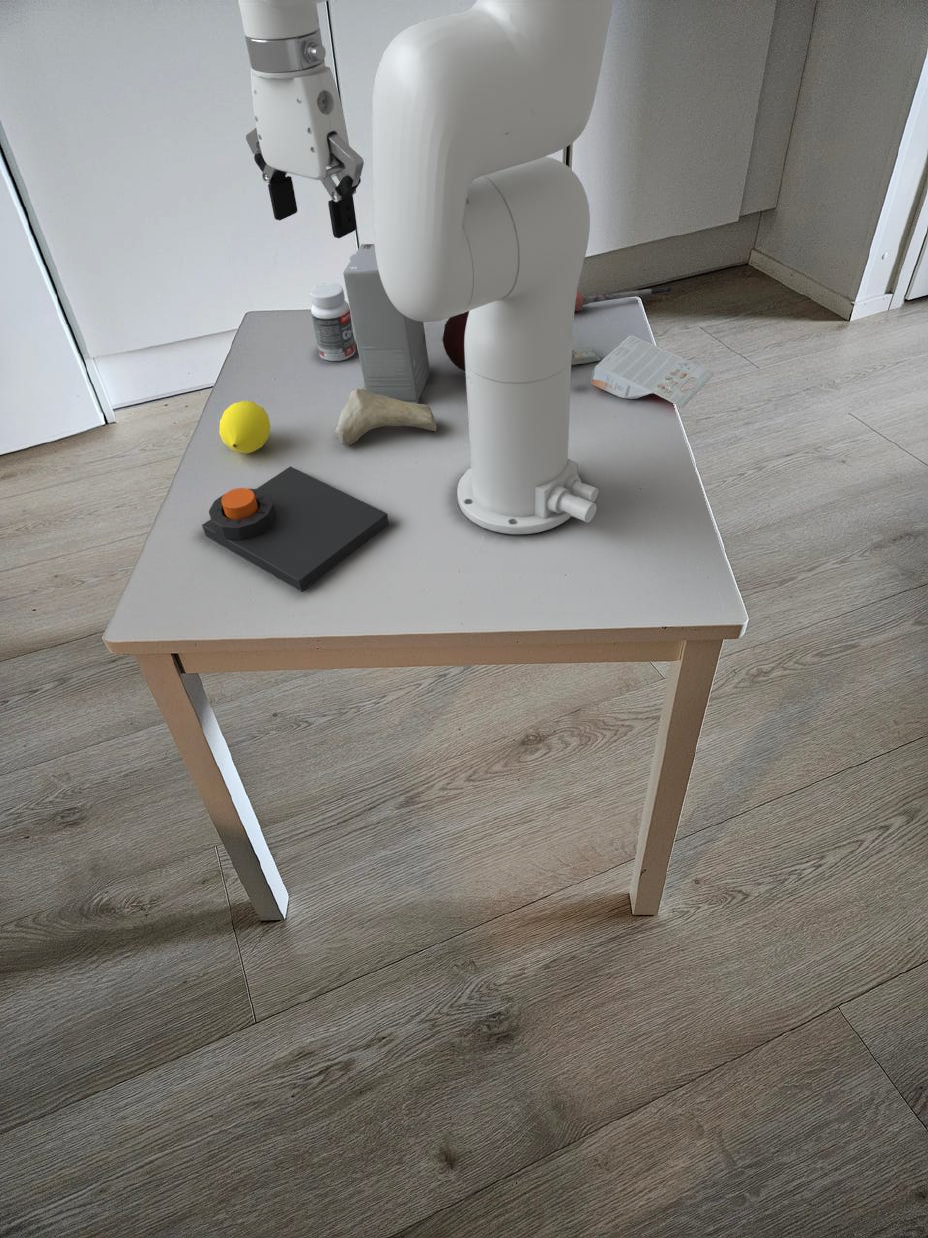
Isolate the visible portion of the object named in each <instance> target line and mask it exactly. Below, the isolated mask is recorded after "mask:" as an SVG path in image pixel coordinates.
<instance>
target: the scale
mask: <svg viewBox="0 0 928 1238" xmlns="http://www.w3.org/2000/svg"><path fill="white" fill-rule="evenodd" d="M249 489H250V490H252V491H253V492H254V495H255V498H256V502H257V505H258V510H257V512H256V513H255V514H253V515H252V516H250V517H248V518H244V519H240V520H234V519H229V518H228V517H227V516H226V515H225V512H224V508H223V505H222V502H221V500H222V497H223V496H224V495H225V494H226V493H224V494H222V495H221V496H219V497H217V498H216V499H215V500H214V501H213V503H212V504H211V506H210V507H209V510H208V515H209V519H208V520H207V521H205V522H204V523H203V524H201V527H202V529H203V533H204V536H205V537H207V538H209V539H211V540H212V541H214V542H216V543H217V544H219V545H221V546H223V547H224V548H226V549H228V550H230V551H231V552H233V553H234V554H236V555H238V556H239V557H242V558H243V559H245V560H247V561H248V562H250V563H252V564H254V565H255V566H257V567H259V568H260V569H262V570H264V571H265V572H267V573H269V574H271V575H273V576H274V577H276V578H277V579H279V580H281V581H283V582H285V583H286V584H288V585H290V586H291V587H293V588H295V589H297V590H298V591H300V592H304V591H305V590H306V589H308V588H309V587H310V586H312V584H314V583H316V581H318V580H319V579H320V578H322V577H323V576H324V575H325V574H326V573H328V572H330V571H331V570H332V569H333V568H334V567H336V566H337V565H339V564H340V563H341V562H342V561H344V560H345V559H346V558H347V557H349V556H350V555H351V554H353V553H354V552H355V551H357V550H358V549H359V548H360V547H362V546H363V545H364V544H365V543H367V542H368V541H369V540H371V539H372V538H373V537H374V536H376V535H377V534H378V533H380V532H381V531H382V530H384V529H385V528H386V527H388V526H389V525H390V523H389V515H388V513H387V512H386V511H383V510H381V509H380V508H377V507H376V506H373V505H371V504H369V503H367V502H365V501H363V500H361V499H359V498H356V497H354V496H353V495H350V494H348V493H346V492H345V491H342V490H340V489H338V488H336V487H334V486H332V485H330V484H327V483H326V482H324V481H322V480H319V479H317V478H316V477H313V476H312V475H309V474H307V473H305V472H303V471H301V470H299V469H297V468H296V467H293V466H288V467H286V468H285V469H284V470H282V471H281V472H279V473H278V474H277V475H275V476H273V477H272V478H270V479H269V480H268V481H266V482H265V483H263V484H262V485H260V486H258V487H257V488H249Z"/></svg>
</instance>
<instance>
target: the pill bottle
mask: <svg viewBox="0 0 928 1238" xmlns="http://www.w3.org/2000/svg"><path fill="white" fill-rule="evenodd" d="M344 291H345V290H344V287H343V286H342V285H341V284H339V283H335V282H325V283H324V282H323V283H321V284H317V285H315V286H313V287H312V288H311V289H310V291H309V293H310V298H311V299H310V300H311V304H312V306H311V309H310V311H311V312H310V313H311V318H312V324H313V328H314V333H315V339H316V345H317V350H318V355H319V357H320V358H322V359H323V360H324V361H328V362H342V361H346V360H348V359H350V358H351V357H353V356H354V355H355V353H356V349H357V347H356V340H355V334H354V327H353V322H352V317H351V312H350V307H349V302H347V300H345V299H346V298H345V292H344Z"/></svg>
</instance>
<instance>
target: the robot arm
mask: <svg viewBox="0 0 928 1238" xmlns="http://www.w3.org/2000/svg"><path fill="white" fill-rule="evenodd" d="M328 1H329V0H237V2H238V7H239V12H240V17H241V23H242V29H243V32H244V39H245V44H246V48H247V53H248V59H249V64H250V83H251V84H250V87H251V97H252V98H251V99H252V106H253V116H254V121H255V128H254V129H252V130H251V131H250V132H248V133H247V134H246V135H245V140H246V142H247V144H248V147H249V149H250V151H251V153H252V155H254V156H253V159H254V162H255V164H256V165H257V166H258V169H260V171H261V172H262V173H261V176H262V180H263V182H264V183H265V184H267V188H268V192H269V193H268V194H269V199H270V203H271V207H272V213H273V218H274V219H275V220H276V221H280V222H281V221H282V220H284V219H286V218H288V217H291V216H293V215H296V214H297V213H298V204H297V200H296V194H295V189H294V183H293V180H292V176H290V175H288V174H292V175H295V176H298V177H302V178H307V179H310V180H314V181H320V182H321V183H322V185H323V187H324V189H325V190H326V192H327V194H328V195H329V196H330V198H331V199H330V200H328V201H327V203H328V204H327V205H328V210H329V216H330V224H331V230H332V235H333V238H335V239H342V238H343V237H345V236H348V235H349V234H351V233H354V232H355V231H356V230H357V219H356V213H355V204H354V198H353V195H355V194H356V193H357V188H358V187H359V186H360V184H361V182H362V179H361V177H362V173H363V169H364V165H365V161H364V159H363V157H362V156H361V155H360V154H359V153H358V152H356V151H355V150H354V149H353V148H352V147H351V146H350V142H349V141H350V140H349V136H348V130H347V129H348V128H347V125H346V119H345V115H344V110H343V106H342V105H343V104H342V101H341V98H340V95H339V91H338V86H337V83H336V80H335V77H334V75H333V71H332V69H331V67H329V66H327V65H326V59H325V58H326V55H327V53H326V48H325V46H324V45H323V39H322V32H321V27H320V19H319V13H318V7H317V4H320V3H322V2H328ZM613 4H614V0H476V1H475V2H474V4H473V5H472V6H471V7H470V8H469V9H468V10H465V11H461V12H456V13H452V14H447V15H443V16H439V17H434V18H430V19H426V20H423V21H419V22H418V23H415V24H413V25H411V26H408V27H407V28H405V29H403V30H402V31H400V33H398V34H397V35H395V37H394V38H393V39H392V40H391V41H390V43H389V44H388V45H387V46H386V48H385V50H384V52H383V54H382V56H381V58H380V60H379V64H378V67H377V70H376V73H375V78H374V83H373V91H372V105H371V106H372V111H371V116H372V117H371V128H372V129H371V130H372V131H371V132H372V134H371V135H372V136H371V137H372V138H371V139H372V194H373V195H372V196H373V197H372V198H373V199H372V201H373V206H372V207H373V241H374V244H375V253H376V260H377V266H378V271H379V274H380V278H381V281H382V284H383V287H384V289H385V291H386V294H387V296H388V297H389V299H390V301H391V302H392V304H393V305H394V306H395V307H396V309H397V310H398V311H399V312H401V313H402V314H403V315H405V316H406V317H408V318H410V319H412V320H415V321H420V322H423V323H435V322H440V321H443V320H447V319H449V318H450V317H453V316H456V315H459V314H462V313H465V312H467V311H469V315H468V318H467V323H466V329H465V338H464V350H465V371H466V372H465V387H466V402H467V404H466V405H467V420H468V421H467V423H468V438H469V454H470V467H469V468H468V469H467V470H466V471H465V472H464V473H463V475H462V476H461V477H460V479H459V482H458V484H457V490H456V491H457V492H456V495H457V502H458V505H459V508H460V510H461V511H462V513H463V515H464V516H465V517H466V518H467V519H469V520H470V521H471V522H472V523H474V524H476V525H477V526H480V528H483V529H486V530H489V531H491V532H495V533H499V534H507V535H530V534H536V533H541V532H544V531H548V530H552V529H554V528H555V527H558V526H560V525H562V524H563V523H565V522H567V521H568V520H569V519H571V518H572V517H573V518H575V519H578V520H580V521H582V522H584V523H590V522H591V521H592V520H593V519H594V517H595V515H596V513H597V504H596V503H595V501H596V500H597V498H598V496H599V488H597V487H595V486H592V485H590V484H587V483H583V482H582V479H581V478H580V476H579V474H578V462H577V461H575V460H572V459H570V458H569V439H570V437H569V434H570V409H571V408H570V407H571V382H572V381H571V378H572V377H571V376H572V365H571V358H572V350H573V341H574V339H573V337H574V323H575V320H574V319H575V312H576V311H575V302H576V296H577V291H578V289H579V284H580V279H581V275H582V271H583V267H584V264H585V263H584V262H585V258H586V254H587V249H588V244H589V238H590V231H591V230H590V229H591V228H590V227H591V213H590V205H589V200H588V196H587V193H586V190H585V187H584V186H583V184H582V181H581V180H580V178H579V177H578V175H577V174H576V173H575V172H574V171H573V169H572V168H571V167H569V165H567V164H565V163H564V162H562V161H560V160H558V159H556V158H553V157H550V155H553V154H555V153H558V152H559V151H562V150H564V149H565V148H567V147H569V146H570V145H572V144H573V143H574V142H575V141H576V140H577V139H578V138H579V137H580V136H581V135H582V134H583V132H584V131H585V129H586V127H587V125H588V123H589V120H590V117H591V114H592V111H593V107H594V102H595V98H596V95H597V90H598V84H599V79H600V74H601V69H602V65H603V64H602V63H603V59H604V52H605V48H606V42H607V37H608V33H609V25H610V22H611V21H610V20H611V16H612V10H613V6H614V5H613ZM327 167H328V169H327ZM334 177H336V178H337V180H338V181H339V183H338V184H336V182H335V180H334V179H333V178H334Z"/></svg>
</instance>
